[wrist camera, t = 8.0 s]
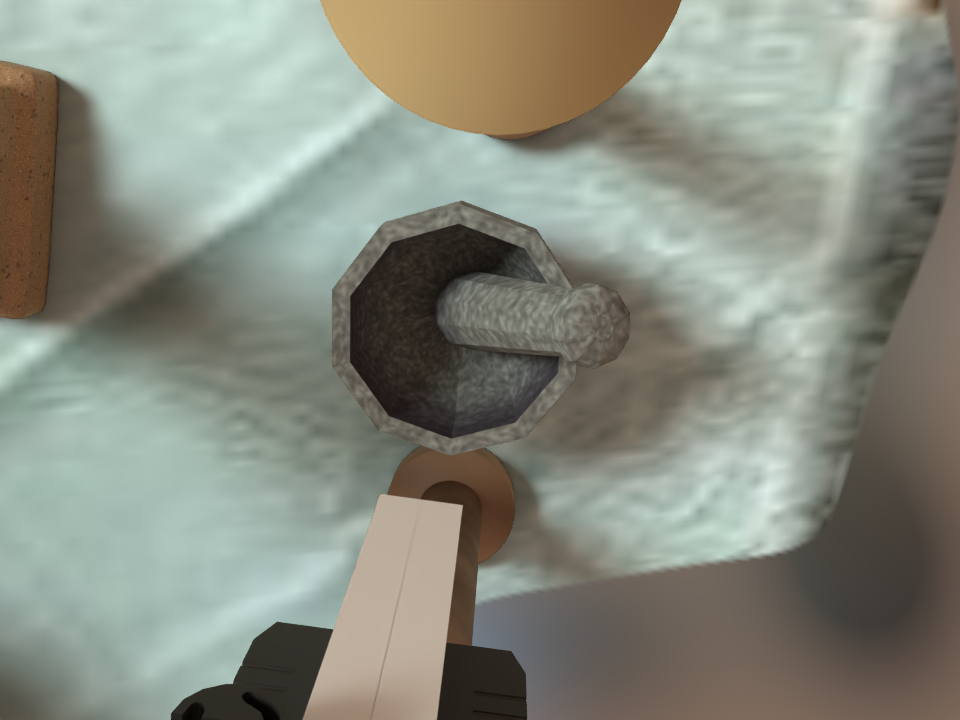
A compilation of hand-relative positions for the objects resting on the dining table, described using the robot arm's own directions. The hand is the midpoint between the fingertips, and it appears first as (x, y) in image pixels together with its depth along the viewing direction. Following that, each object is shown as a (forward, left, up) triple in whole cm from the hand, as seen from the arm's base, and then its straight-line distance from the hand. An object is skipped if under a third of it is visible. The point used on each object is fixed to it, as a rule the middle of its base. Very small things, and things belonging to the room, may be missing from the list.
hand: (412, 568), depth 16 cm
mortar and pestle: (0, 0, -26) cm, 26 cm away
